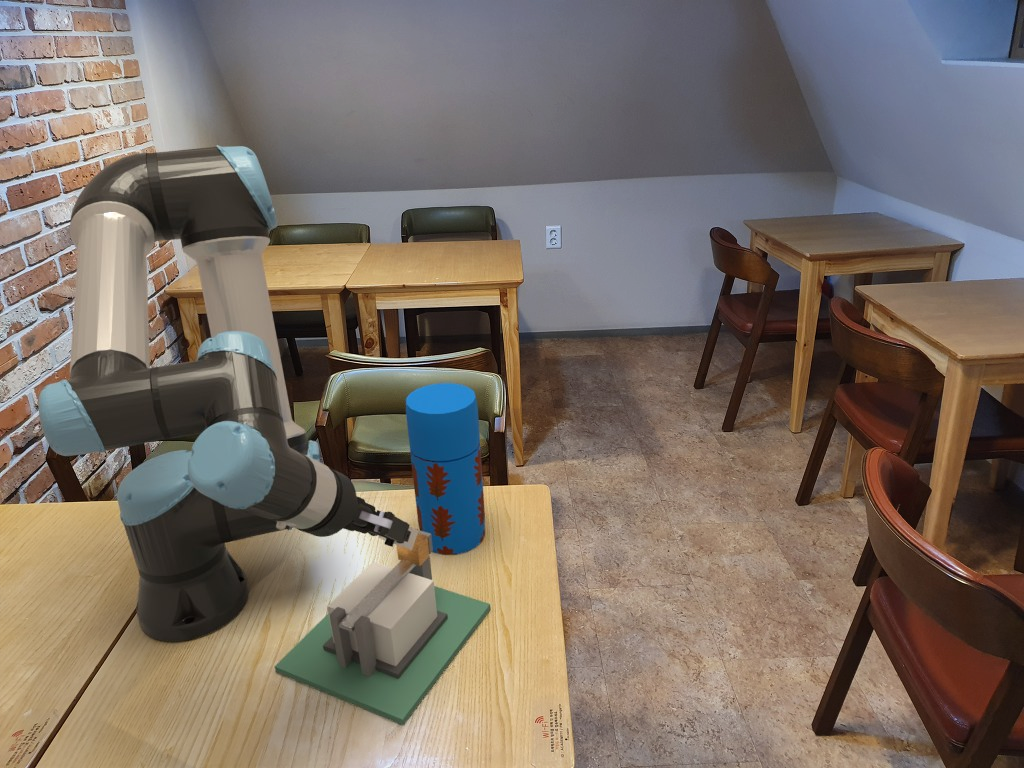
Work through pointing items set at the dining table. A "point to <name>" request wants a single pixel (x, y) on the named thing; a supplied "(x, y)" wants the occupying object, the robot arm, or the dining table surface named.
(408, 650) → the lever on green base
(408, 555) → the grey and orange bar
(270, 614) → the dining table surface
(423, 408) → the thermos
